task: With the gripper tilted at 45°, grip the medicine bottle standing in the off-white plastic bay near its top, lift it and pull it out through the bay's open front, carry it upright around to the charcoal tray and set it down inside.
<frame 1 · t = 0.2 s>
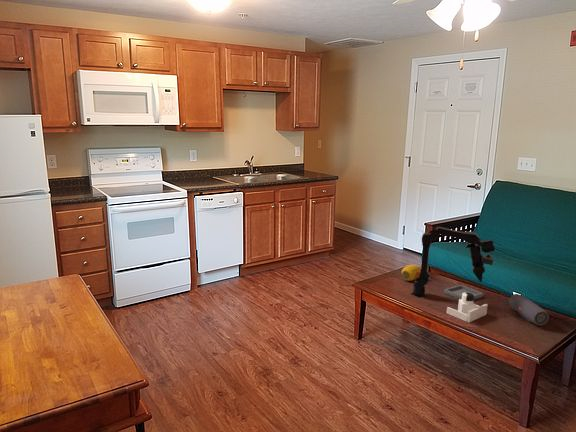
hand: (480, 279, 252), 15 cm above the table, tool tilted 15°, fingers open, 9 cm apart
bay: (465, 313, 242), on the table
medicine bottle: (465, 314, 242), on the table
tray: (463, 295, 267), on the table
bluetooth speaker: (526, 318, 238), on the table
lantern: (410, 279, 292), on the table
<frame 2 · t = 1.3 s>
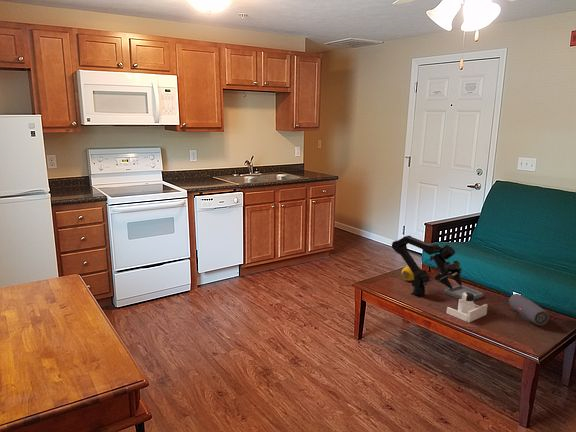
hand: (456, 287, 244), 13 cm above the table, tool tilted 45°, fingers open, 9 cm apart
nothing on the table moved.
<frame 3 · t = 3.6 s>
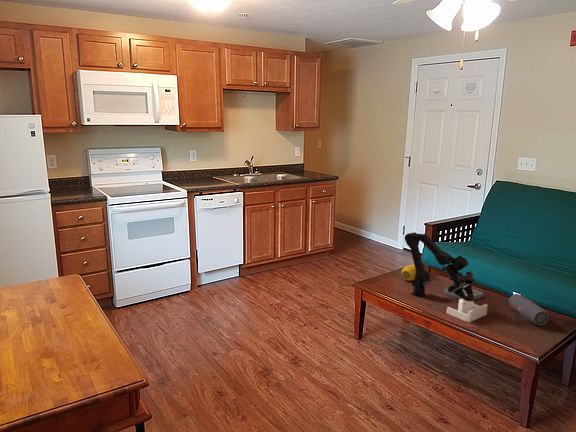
hand: (469, 298, 238), 9 cm above the table, tool tilted 45°, fingers closed on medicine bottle, 6 cm apart
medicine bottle: (465, 314, 242), on the table, touching gripper
everything else where it was.
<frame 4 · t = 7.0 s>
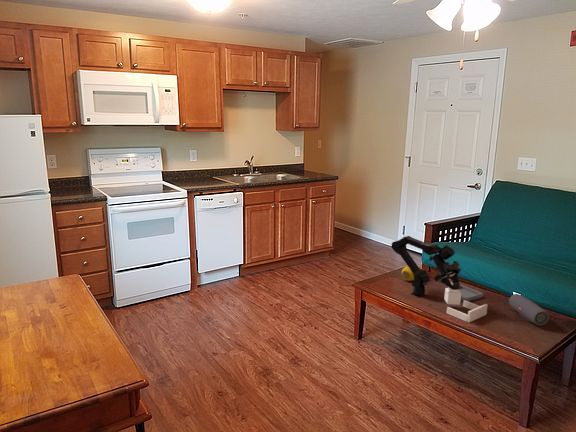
hand: (455, 287, 245), 13 cm above the table, tool tilted 45°, fingers closed on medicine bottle, 6 cm apart
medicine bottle: (452, 302, 248), point 3 cm above the table, touching gripper
everything else where it was.
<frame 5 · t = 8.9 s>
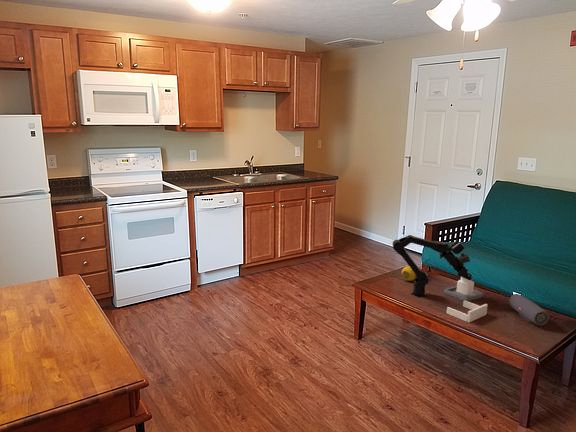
hand: (468, 277, 259), 13 cm above the table, tool tilted 45°, fingers closed on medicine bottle, 6 cm apart
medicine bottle: (464, 292, 262), point 4 cm above the table, touching gripper
everything else where it was.
when the fingers open (11 cm above the table, at t = 10.4 s): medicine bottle stays where it is, resting on tray.
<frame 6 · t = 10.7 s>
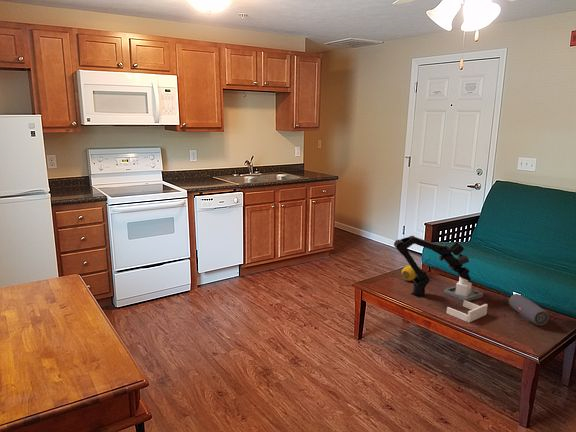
hand: (467, 277, 265), 12 cm above the table, tool tilted 45°, fingers open, 9 cm apart
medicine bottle: (462, 294, 267), point 1 cm above the table, touching tray
everything else where it was.
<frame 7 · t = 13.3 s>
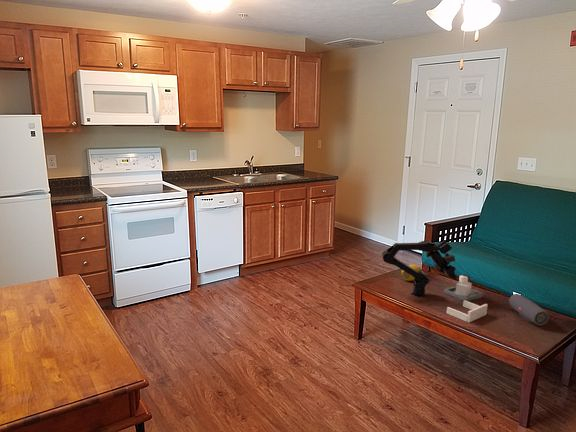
hand: (452, 277, 263), 12 cm above the table, tool tilted 40°, fingers open, 9 cm apart
nothing on the table moved.
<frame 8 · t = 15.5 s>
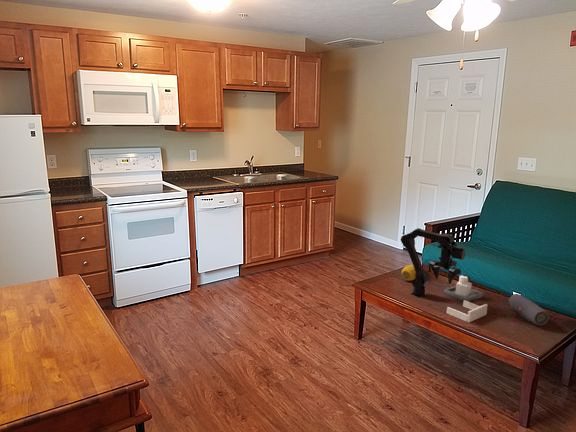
hand: (443, 281, 254), 13 cm above the table, tool pointing down, fingers open, 9 cm apart
nothing on the table moved.
at the end: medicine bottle inside the target area on the tray (0.2 cm from its centre), point 0.6 cm above the tray's base; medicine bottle tilted 0°; the gripper is holding nothing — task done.
